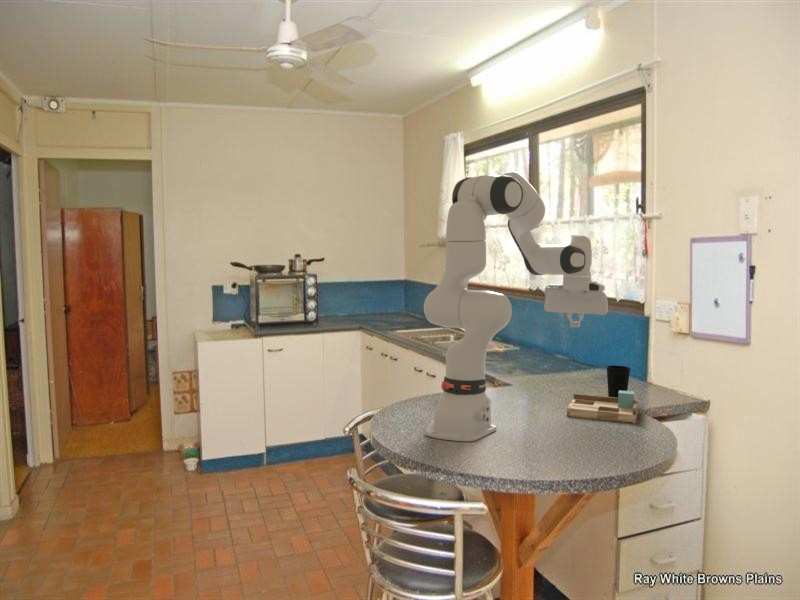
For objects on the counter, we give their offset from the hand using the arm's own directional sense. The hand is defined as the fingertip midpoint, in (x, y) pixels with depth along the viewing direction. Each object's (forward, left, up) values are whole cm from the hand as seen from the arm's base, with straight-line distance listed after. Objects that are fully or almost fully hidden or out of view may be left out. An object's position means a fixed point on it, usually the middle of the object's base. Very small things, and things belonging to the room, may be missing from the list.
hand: (574, 327), depth 206 cm
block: (-5, -17, -24) cm, 30 cm away
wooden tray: (-8, -10, -26) cm, 29 cm away
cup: (+13, -13, -27) cm, 33 cm away
